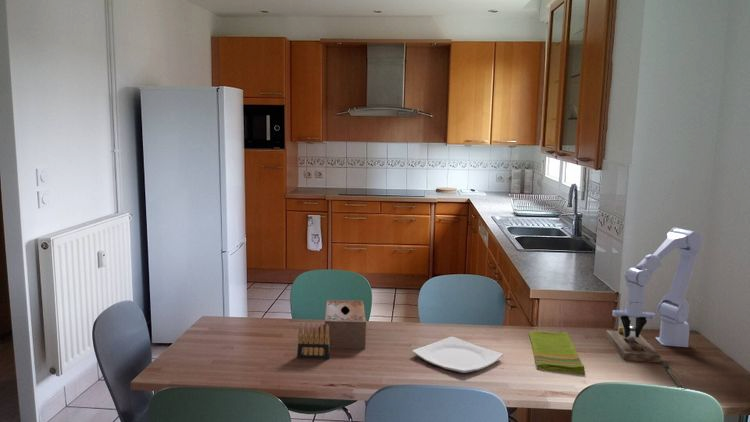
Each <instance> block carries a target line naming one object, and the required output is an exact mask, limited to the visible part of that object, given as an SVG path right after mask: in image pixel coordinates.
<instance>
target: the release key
mask: <svg viewBox="0 0 750 422" xmlns="http://www.w3.org/2000/svg"><path fill="white" fill-rule="evenodd" d="M617 331H618V333H622V334H623V335H624V337H626V336H625V332H624V327H623V326H618V328H617Z"/></svg>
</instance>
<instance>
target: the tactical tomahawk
mask: <svg viewBox="0 0 750 422" xmlns="http://www.w3.org/2000/svg"><path fill="white" fill-rule="evenodd" d="M662 366H664V367H663V368H664V370H665V371H666V373H667V375H669V376H670V378H671V380H673V382H674V383H675V384H676V386H677V388H679V387H681V388H685V386H683V385H682V383H681V382H680V381H679V379H678V378H677V377H676V375H675V373H674V372H673V371H672V370H671V368H670V365H669V364H668V363H664V362H663V363H662ZM685 389H686V388H685Z"/></svg>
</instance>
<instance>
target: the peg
mask: <svg viewBox="0 0 750 422" xmlns="http://www.w3.org/2000/svg"><path fill="white" fill-rule="evenodd" d="M636 331H637V327H636V325H630V326H629V335H628V337H627V342H626V343H635V342H636Z"/></svg>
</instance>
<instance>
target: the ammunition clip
mask: <svg viewBox="0 0 750 422" xmlns="http://www.w3.org/2000/svg"><path fill="white" fill-rule="evenodd" d="M307 323H308V322H306V323H305V325H304V331H303V323H302V322H300V323H299V327H298V333H297V334H298V335H297V354H296V359H307V360H308V359H309V360H310V359H311V360H330V348H329V326H328V324H327V325H326V329H325V326H324V324H323V323H321V324H320V328H319V324H318V323H316V324H315V326H314V325H313V323H310V326H309V327H308V324H307ZM314 327H315V328H314ZM324 336H325V338H324Z"/></svg>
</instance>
